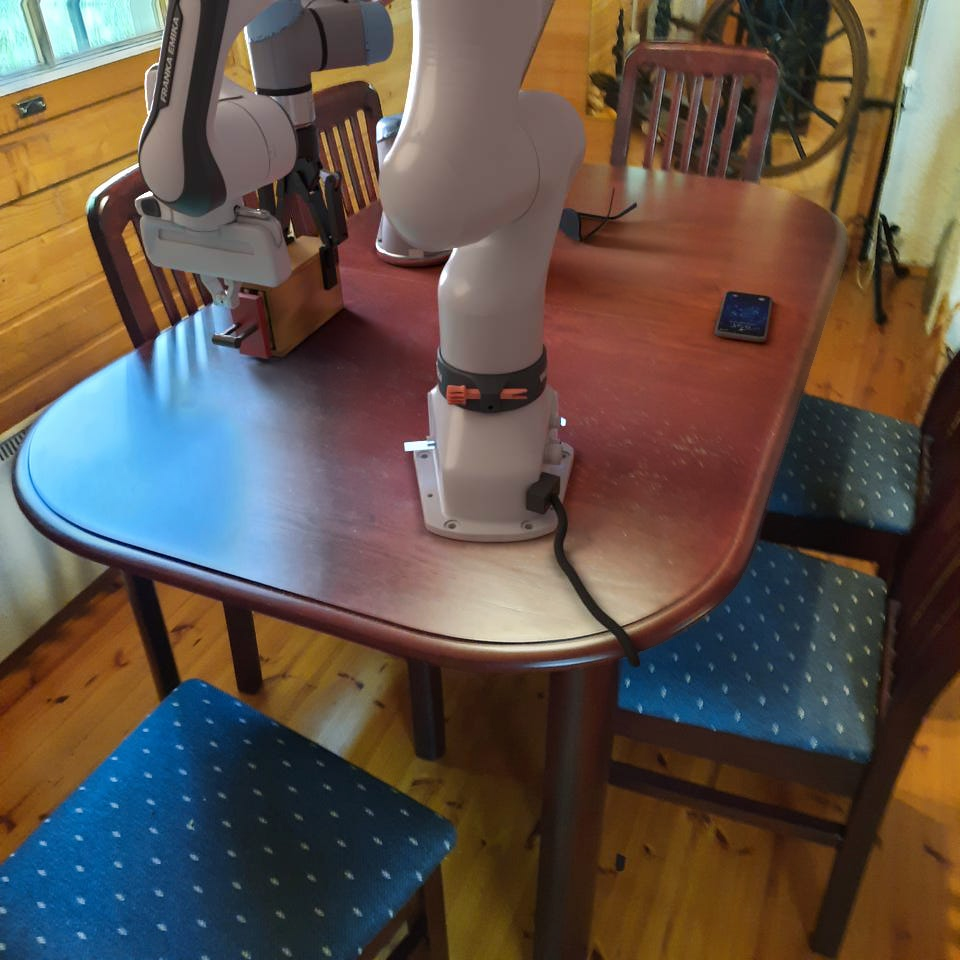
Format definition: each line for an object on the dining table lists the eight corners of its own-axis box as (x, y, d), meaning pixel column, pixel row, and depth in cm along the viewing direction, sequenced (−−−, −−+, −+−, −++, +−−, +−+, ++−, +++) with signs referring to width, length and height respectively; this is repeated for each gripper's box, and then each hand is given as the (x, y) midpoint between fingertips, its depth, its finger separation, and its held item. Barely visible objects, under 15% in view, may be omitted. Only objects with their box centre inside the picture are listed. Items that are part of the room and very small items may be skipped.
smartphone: (773, 295, 132) (766, 339, 121) (772, 301, 133) (765, 345, 121) (725, 289, 134) (713, 331, 123) (724, 295, 135) (712, 337, 123)
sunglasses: (646, 234, 156) (649, 207, 153) (572, 244, 153) (574, 217, 150) (609, 205, 169) (611, 179, 166) (540, 214, 166) (541, 188, 163)
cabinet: (282, 357, 122) (269, 286, 115) (248, 350, 124) (233, 280, 117) (344, 306, 135) (335, 240, 128) (312, 301, 136) (302, 235, 130)
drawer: (244, 377, 115) (231, 316, 110) (216, 371, 117) (201, 311, 111) (327, 310, 131) (320, 254, 126) (301, 306, 133) (293, 250, 128)
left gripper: (363, 122, 116) (378, 282, 130) (246, 111, 122) (273, 266, 136) (335, 136, 110) (354, 302, 124) (214, 125, 116) (246, 284, 130)
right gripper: (292, 203, 104) (307, 308, 112) (157, 184, 110) (180, 284, 118) (263, 221, 99) (281, 329, 107) (123, 199, 105) (150, 303, 114)
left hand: (312, 283), depth 130 cm, fingers closed on cabinet, 6 cm apart
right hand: (227, 305), depth 113 cm, fingers closed
